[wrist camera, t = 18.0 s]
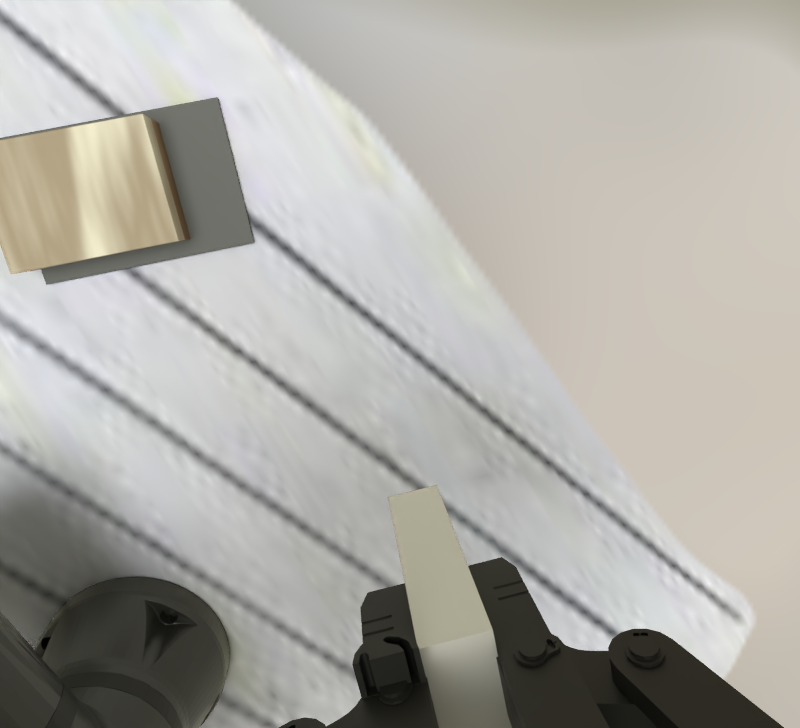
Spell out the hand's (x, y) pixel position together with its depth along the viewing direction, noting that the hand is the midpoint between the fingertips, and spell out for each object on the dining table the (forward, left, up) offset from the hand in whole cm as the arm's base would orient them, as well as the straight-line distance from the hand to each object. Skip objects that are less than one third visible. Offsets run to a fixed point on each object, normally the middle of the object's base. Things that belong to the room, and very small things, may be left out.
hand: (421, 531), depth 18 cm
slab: (-11, +14, -27) cm, 33 cm away
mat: (-14, +14, -29) cm, 35 cm away
